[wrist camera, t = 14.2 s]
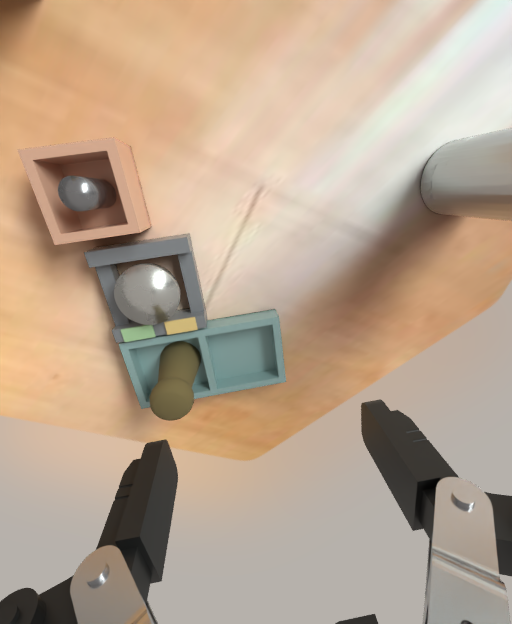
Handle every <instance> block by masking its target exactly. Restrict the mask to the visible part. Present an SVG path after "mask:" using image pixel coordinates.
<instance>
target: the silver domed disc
mask: <svg viewBox="0 0 512 624" xmlns="http://www.w3.org/2000/svg"><path fill="white" fill-rule="evenodd" d="M180 297H181V292H180V287H179V284H178V282H177V280H176V279H175V277H174V276H173V275H172V274H171V273H170V272H169V271H168V270H166V269H165V268H163V267H161V266H159V265H156V264H151V263H141V264H136V265H134V266H132V267H130V268H128V269H127V270H126V271H124V272H123V273H122V274H121V275H120V276H119V278H118V279H117V281H116V284H115V288H114V298H115V301H116V304H117V306H118V308H119V309H120V311H121V312H122V313H123V314H124V315H125V316H126V317H127V318H129V319H130V320H132V321H134V322H137V323H140V324H144V325H155V324H160V323H162V322H165V321H166V320H168V319H169V318H171V317H172V316H173V314H174V313H175V312H176V310H177V308H178V305H179V302H180Z"/></svg>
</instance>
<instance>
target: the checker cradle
mask: <svg viewBox="0 0 512 624" xmlns="http://www.w3.org/2000/svg"><path fill="white" fill-rule="evenodd" d="M84 254H85V257H86V260H87V262H88V265H89V268H90V267H95V269H96V271H97V274H98V277H99V280H100V283H101V286H102V289H103V291H104V294H105V297H106V300H107V303H108V306H109V309H110V311H111V314H112V317H113V320H114V323H115V327H114V328H113V330H112V332H113V335H114V338H115V341H116V343H118V342H129V341H135V340H141V339H147V338H152V337H156V336H159V335H165V334H167V335H170V334H176V333H182V332H188V331H193V330H198V329H200V328H205V327H207V313H206V308H205V304H204V299H203V294H202V290H201V285H200V280H199V276H198V271H197V266H196V261H195V257H194V252H193V247H192V243H191V238H190V234H183V235H176V236H170V237H163V238H156V239H149V240H143V241H136V242H129V243H123V244H116V245H109V246H103V247H96V248H93V249H91V250H89V251H87V252H84ZM175 254H178V259H179V263H180V267H181V271H182V276H183V280H184V284H185V288H186V293H187V297H188V301H189V306H190V308H189V309H183V310H177V311H176V312H175V313H174V314H173V316H172V317H171V318H169V319H168V320H166V321H165V322H162V323H160V324H155V325H144V324H140V323H137V322H134V321H132V320H130V319H129V318H127V317H126V316H125V315H124V314H123V313H122V312H121V311H120V309H119V308H118V306H117V304H116V301H115V298H114V288H115V284H116V281H117V279H118V278H119V273H118V270H117V266H116V263H123V262H129V261H136V260H142V259H149V258H156V257H162V256H169V255H175Z"/></svg>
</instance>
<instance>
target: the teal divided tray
mask: <svg viewBox="0 0 512 624" xmlns="http://www.w3.org/2000/svg"><path fill="white" fill-rule="evenodd" d="M177 341H184V342H187V343H190V344H192V345H193V346H195V347H196V348H197V349H198V351H199V352H200V355H201V363H200V366H199V369H198V372H197V375H196V377H195V380H194V383H193V386H192V390H193V392H194V399H197V398H202V397H207V396H213V395H218V394H224V393H229V392H234V391H240V390H245V389H250V388H256V387H261V386H266V385H272V384H277V383H283V382H286V377H285V368H284V359H283V349H282V340H281V331H280V322H279V316H278V314H277V312H276V310H275V309H272V310H266V311H260V312H254V313H249V314H243V315H237V316H231V317H225V318H219V319H213V320H207V327H205V328H200V329H198V330H193V331H188V332H182V333H176V334H170V335H167V334H165V335H159V336H156V337H152V338H147V339H141V340H135V341H129V342H120V343H119V347H120V350H121V353H122V355H123V358H124V361H125V364H126V367H127V370H128V372H129V375H130V378H131V381H132V384H133V386H134V389H135V392H136V395H137V398H138V401H139V403H140V406H141V409H143V408H148V407H150V399H149V397H150V395H151V392H152V389H153V388H154V387H155V385H156V384H157V383H158V374H159V362H160V355H161V352H162V350H163V349H164V348H165V346H167V345H169V344H170V343H173V342H177Z"/></svg>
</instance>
